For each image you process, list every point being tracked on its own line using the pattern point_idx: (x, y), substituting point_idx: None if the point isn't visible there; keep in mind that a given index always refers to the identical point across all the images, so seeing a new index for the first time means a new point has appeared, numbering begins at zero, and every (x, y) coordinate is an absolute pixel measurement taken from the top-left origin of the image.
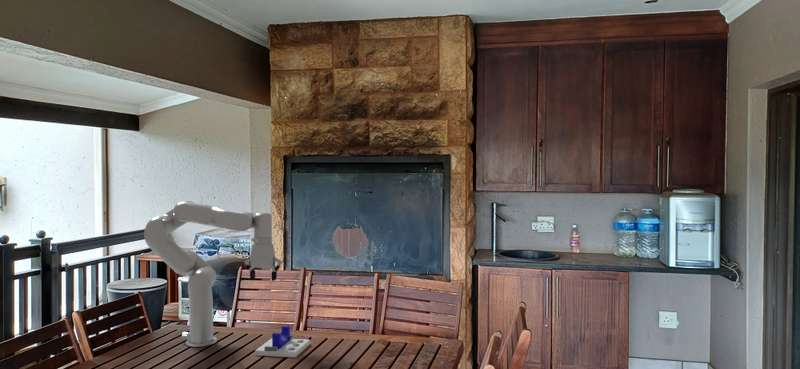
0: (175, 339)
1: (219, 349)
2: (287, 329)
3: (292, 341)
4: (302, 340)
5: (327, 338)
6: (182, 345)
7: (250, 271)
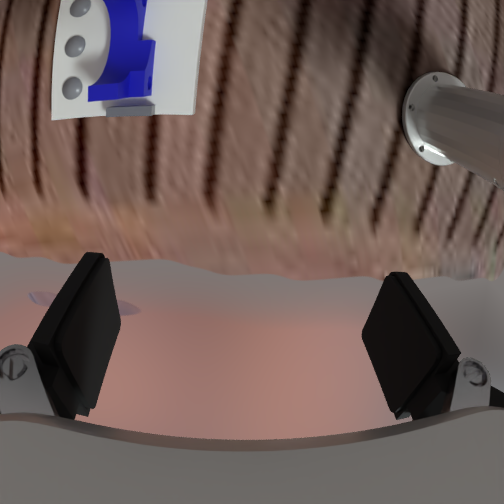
0: None
1: (367, 36)
2: (97, 83)
3: None
4: (65, 96)
5: (36, 187)
6: None
7: (454, 364)
